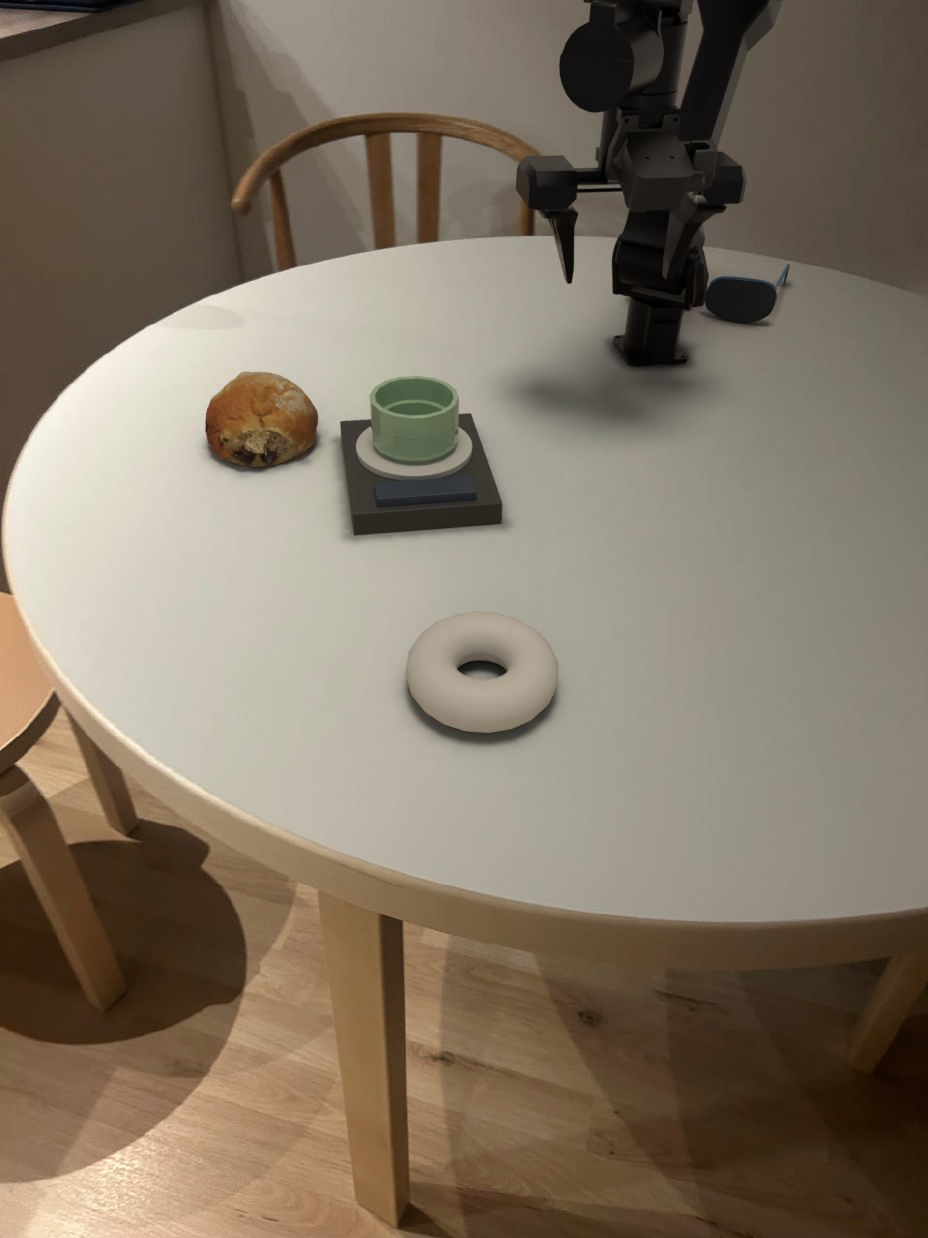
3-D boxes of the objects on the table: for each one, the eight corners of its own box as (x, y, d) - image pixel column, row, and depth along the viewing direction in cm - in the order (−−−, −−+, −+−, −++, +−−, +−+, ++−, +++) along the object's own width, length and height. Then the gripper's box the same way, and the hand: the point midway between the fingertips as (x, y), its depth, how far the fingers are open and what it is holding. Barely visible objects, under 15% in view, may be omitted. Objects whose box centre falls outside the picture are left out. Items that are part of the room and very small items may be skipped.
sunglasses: (620, 302, 113) (627, 258, 110) (648, 276, 125) (655, 236, 122) (768, 328, 108) (779, 283, 106) (783, 299, 120) (793, 257, 117)
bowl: (368, 425, 85) (366, 378, 82) (450, 420, 86) (450, 373, 83) (376, 468, 79) (374, 420, 76) (463, 462, 80) (464, 414, 77)
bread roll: (332, 471, 90) (346, 386, 88) (271, 479, 81) (285, 383, 78) (244, 447, 93) (255, 363, 91) (176, 451, 84) (186, 359, 81)
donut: (543, 636, 68) (402, 640, 67) (548, 598, 66) (402, 602, 65) (567, 742, 60) (408, 747, 59) (573, 703, 58) (408, 708, 57)
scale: (341, 440, 88) (339, 412, 86) (470, 431, 89) (471, 404, 87) (353, 535, 76) (352, 505, 75) (501, 523, 78) (503, 494, 76)
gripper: (551, 113, 69) (536, 321, 79) (794, 109, 72) (749, 311, 82) (519, 79, 78) (509, 271, 88) (737, 76, 80) (703, 263, 90)
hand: (617, 280), depth 87 cm, fingers open, 9 cm apart
